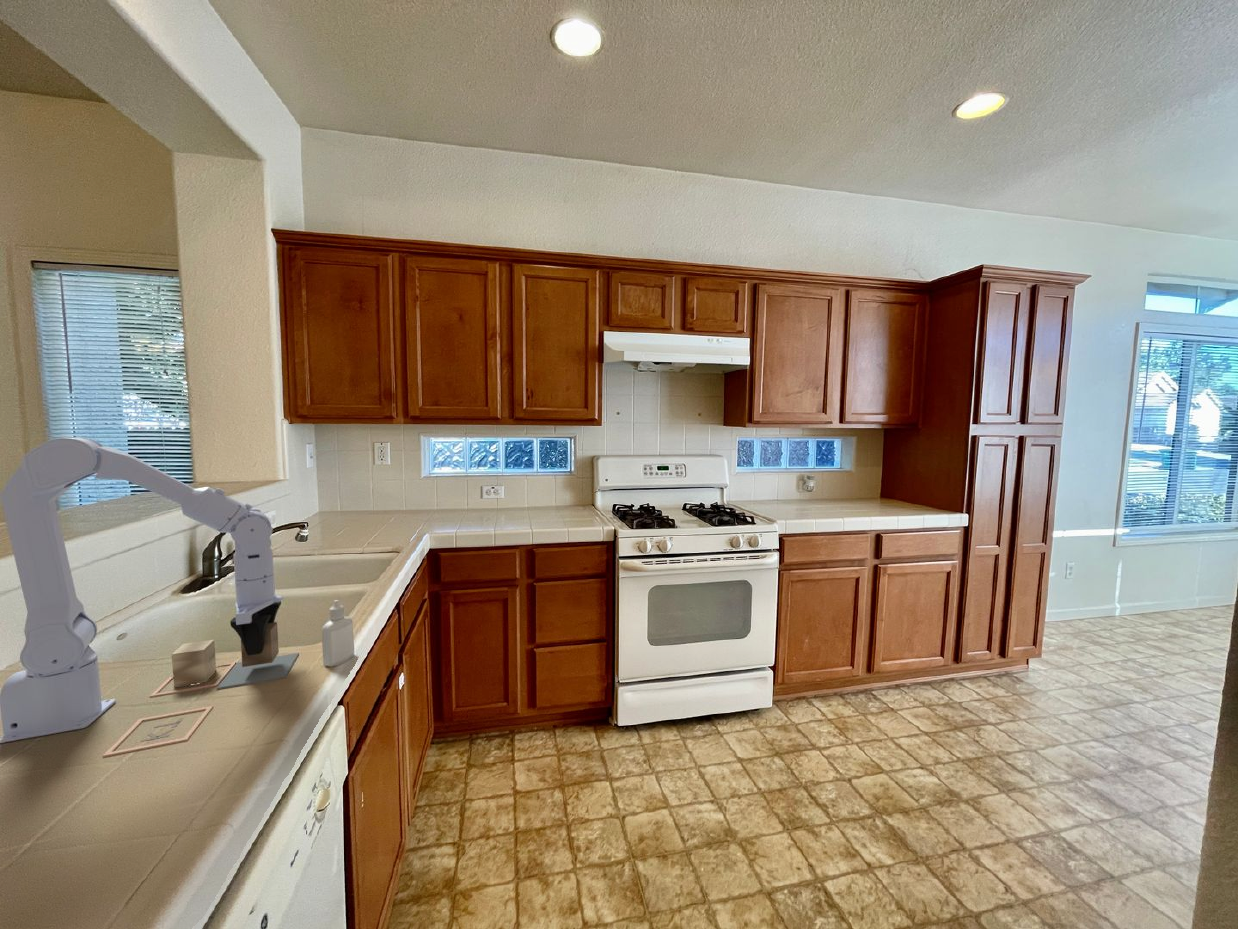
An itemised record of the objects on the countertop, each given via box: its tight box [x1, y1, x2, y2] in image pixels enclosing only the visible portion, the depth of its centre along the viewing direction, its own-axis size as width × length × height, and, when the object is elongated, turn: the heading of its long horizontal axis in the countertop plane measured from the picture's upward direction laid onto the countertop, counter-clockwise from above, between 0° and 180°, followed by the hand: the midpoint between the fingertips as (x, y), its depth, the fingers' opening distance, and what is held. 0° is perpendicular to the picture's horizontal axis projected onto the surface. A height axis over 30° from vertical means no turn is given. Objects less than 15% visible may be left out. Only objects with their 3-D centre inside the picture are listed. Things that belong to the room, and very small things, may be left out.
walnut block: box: [240, 621, 280, 667], centre depth 89 cm, size 4×4×6 cm
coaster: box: [216, 652, 300, 691], centre depth 90 cm, size 10×10×1 cm
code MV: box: [149, 661, 237, 698], centre depth 87 cm, size 9×9×1 cm
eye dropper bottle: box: [321, 599, 355, 668], centre depth 93 cm, size 4×6×12 cm
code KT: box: [102, 705, 214, 758], centre depth 72 cm, size 9×9×1 cm
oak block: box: [171, 639, 217, 688], centre depth 87 cm, size 4×4×6 cm
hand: (259, 647), depth 89 cm, fingers closed on walnut block, 4 cm apart
